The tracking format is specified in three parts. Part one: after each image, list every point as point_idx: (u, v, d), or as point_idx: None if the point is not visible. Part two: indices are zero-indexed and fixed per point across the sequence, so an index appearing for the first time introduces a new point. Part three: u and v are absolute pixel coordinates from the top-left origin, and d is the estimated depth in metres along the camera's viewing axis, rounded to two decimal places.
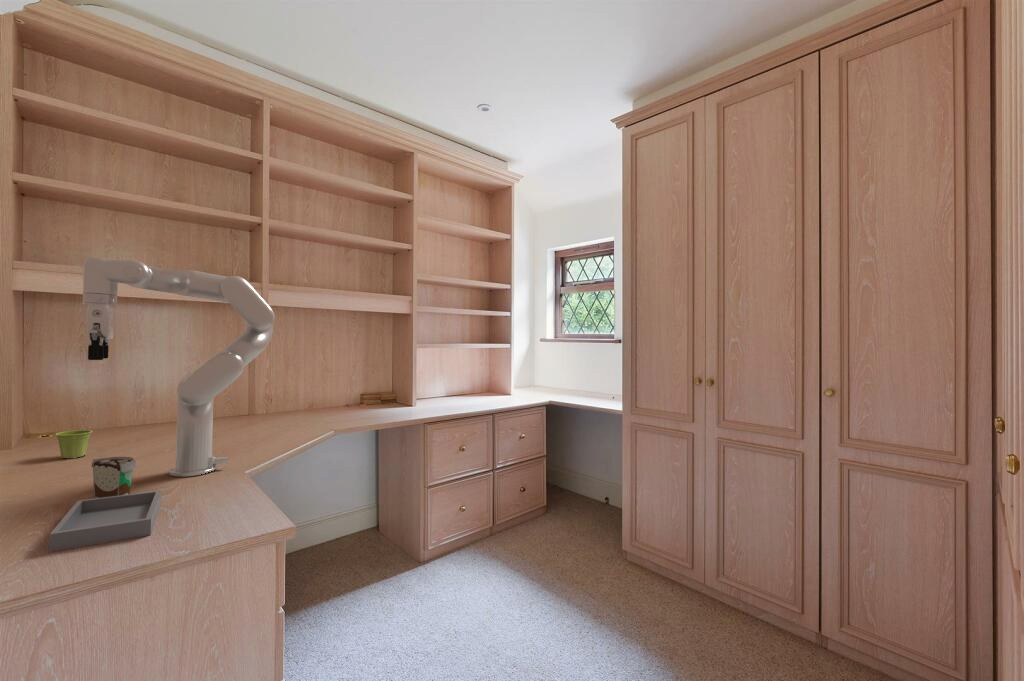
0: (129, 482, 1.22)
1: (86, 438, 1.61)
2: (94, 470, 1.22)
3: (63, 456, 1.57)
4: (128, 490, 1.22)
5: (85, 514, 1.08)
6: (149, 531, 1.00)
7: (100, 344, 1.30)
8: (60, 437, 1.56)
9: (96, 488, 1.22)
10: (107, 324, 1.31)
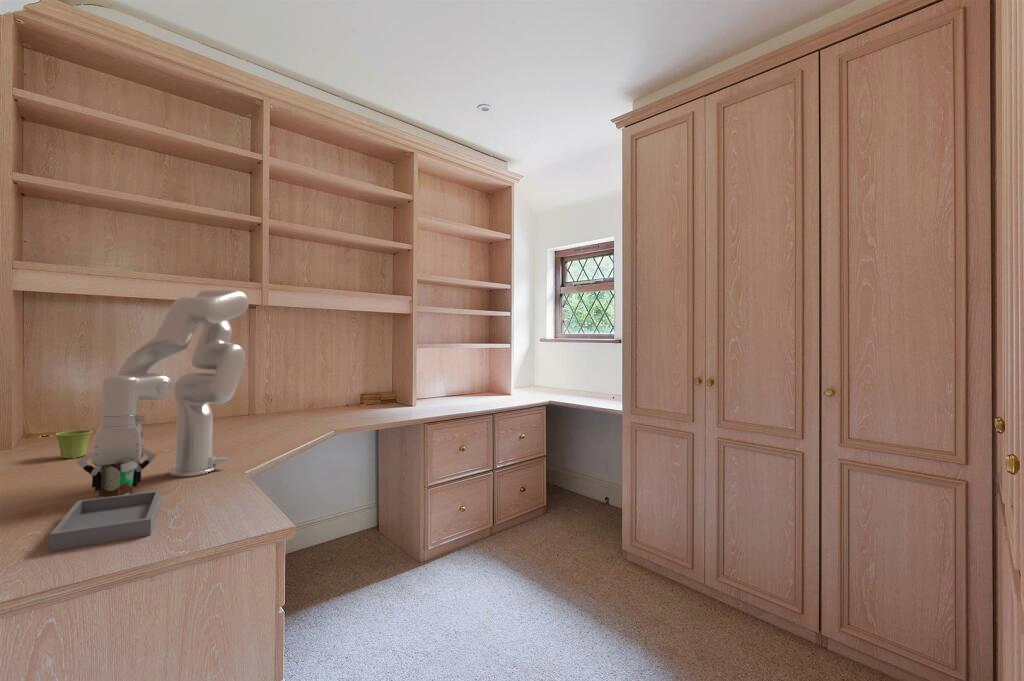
0: (130, 482, 1.22)
1: (86, 438, 1.61)
2: None
3: (63, 456, 1.57)
4: (129, 490, 1.22)
5: (85, 514, 1.08)
6: (149, 531, 1.00)
7: None
8: (60, 437, 1.56)
9: None
10: None
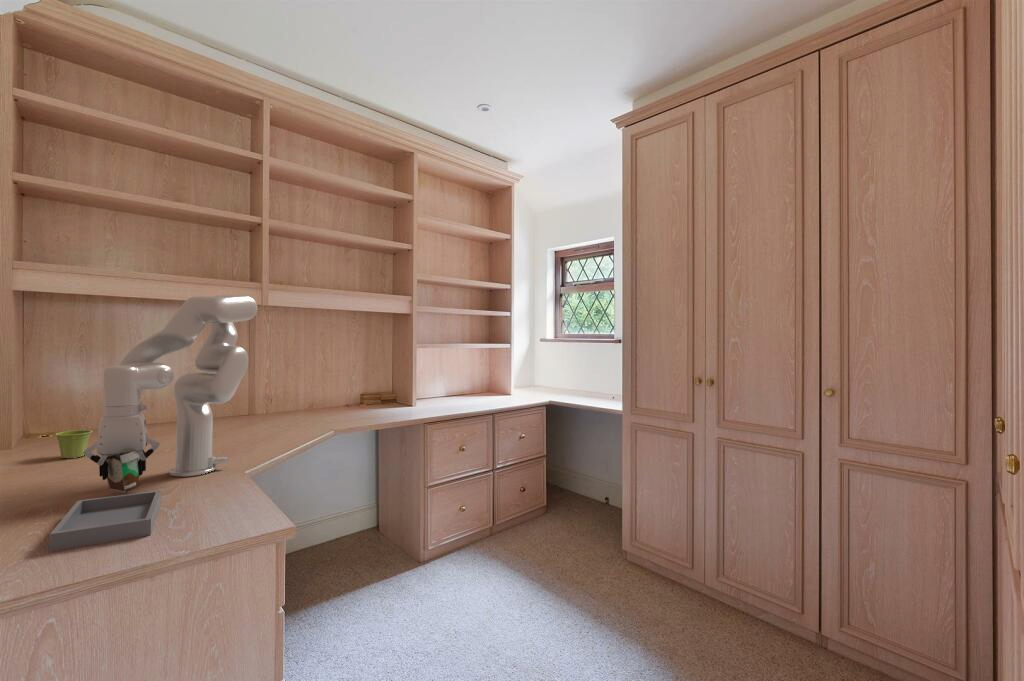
0: (135, 472, 1.23)
1: (86, 438, 1.61)
2: None
3: (63, 456, 1.57)
4: (136, 479, 1.24)
5: (85, 514, 1.08)
6: (149, 531, 1.00)
7: None
8: (60, 437, 1.56)
9: (109, 480, 1.25)
10: None
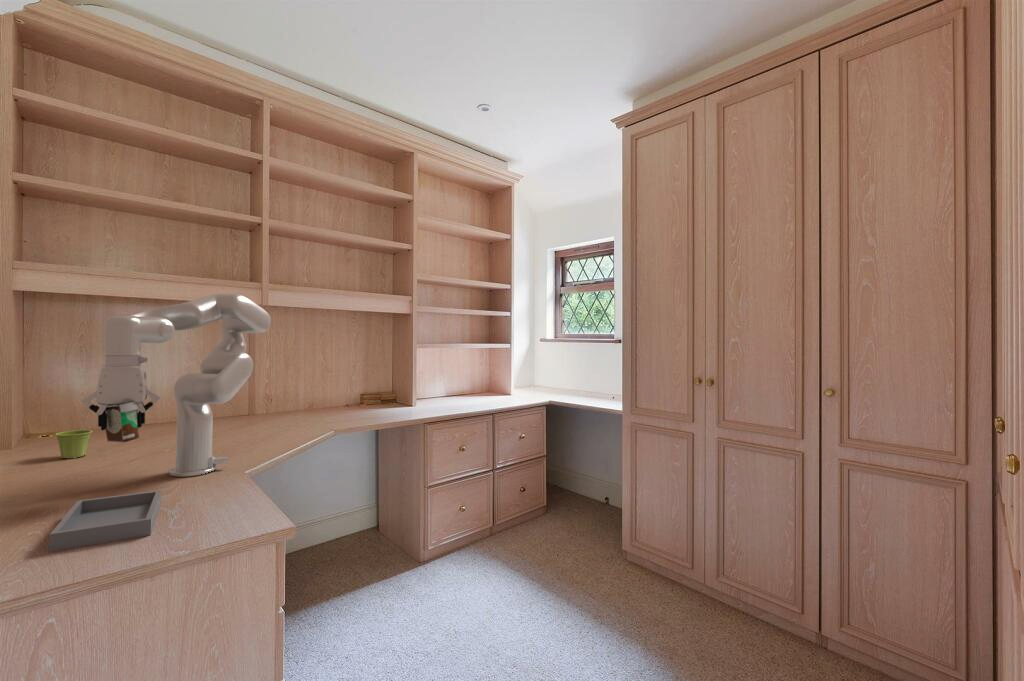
0: (134, 423, 1.23)
1: (86, 438, 1.61)
2: None
3: (63, 456, 1.57)
4: (134, 431, 1.23)
5: (85, 514, 1.08)
6: (149, 531, 1.00)
7: None
8: (60, 437, 1.56)
9: (107, 432, 1.24)
10: None
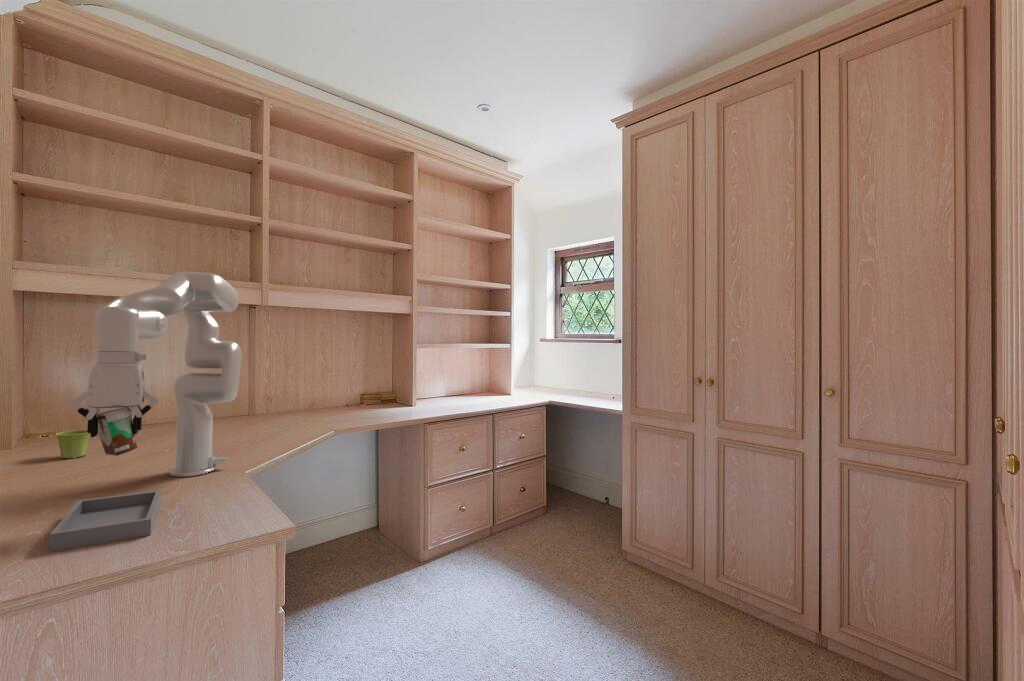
0: (126, 433, 1.07)
1: (86, 438, 1.61)
2: None
3: (63, 456, 1.57)
4: (128, 441, 1.07)
5: (85, 514, 1.08)
6: (149, 531, 1.00)
7: None
8: (60, 437, 1.56)
9: (103, 444, 1.09)
10: None
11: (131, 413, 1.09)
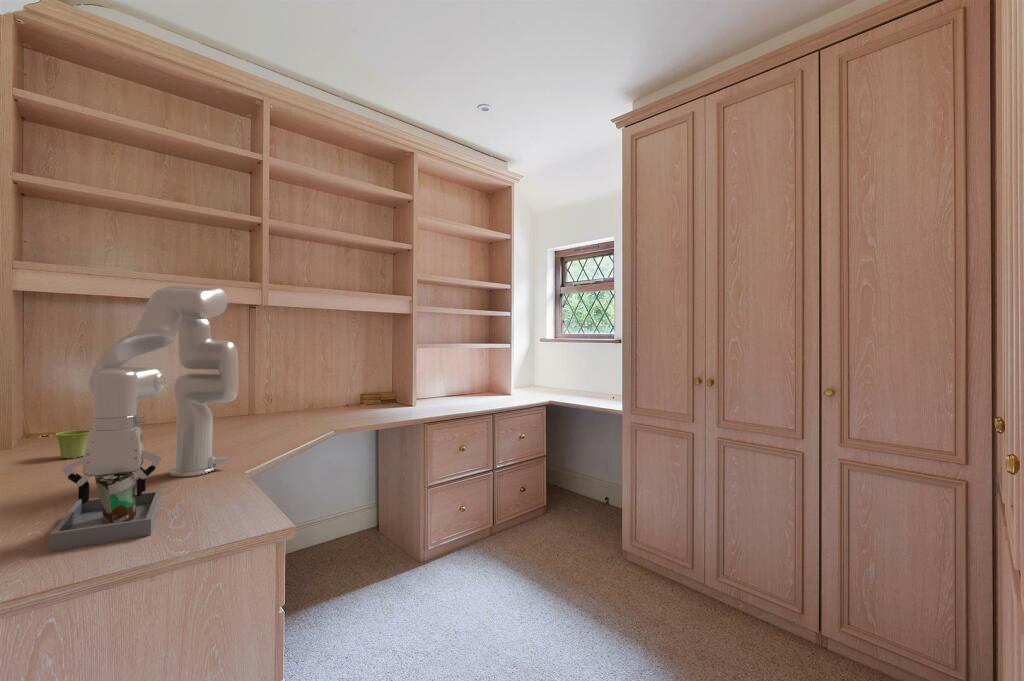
0: (127, 503, 1.04)
1: (86, 438, 1.61)
2: (98, 487, 1.07)
3: (63, 456, 1.57)
4: (128, 511, 1.04)
5: (85, 514, 1.08)
6: (149, 531, 1.00)
7: None
8: (60, 437, 1.56)
9: (102, 507, 1.07)
10: None
11: (134, 481, 1.06)
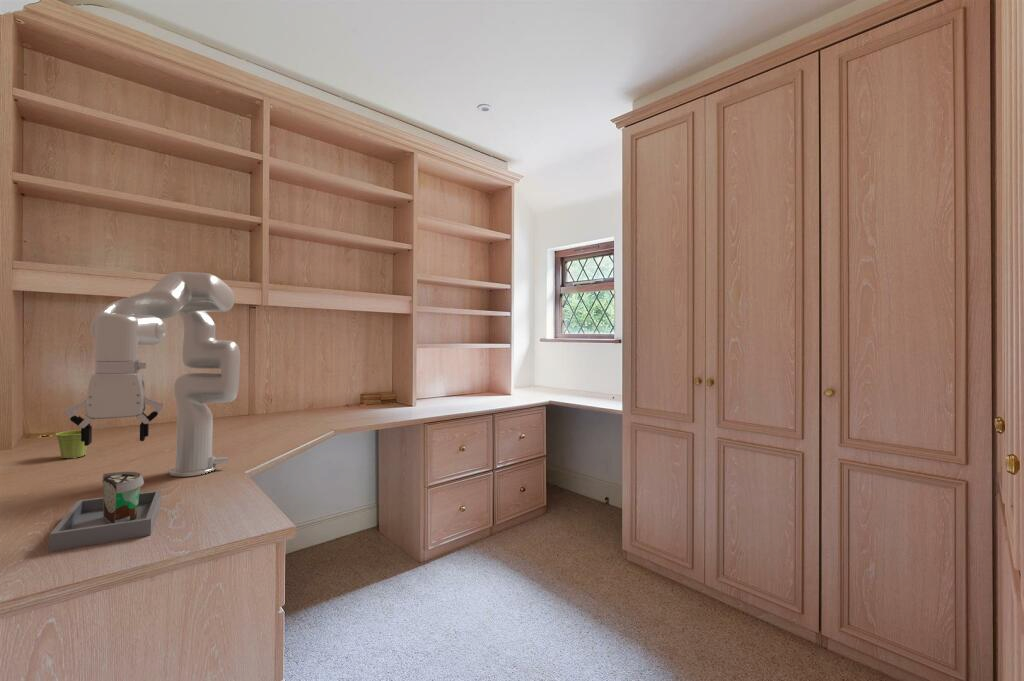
0: (131, 504, 1.05)
1: None
2: (104, 486, 1.08)
3: (63, 456, 1.57)
4: (130, 513, 1.05)
5: (85, 514, 1.08)
6: (149, 531, 1.00)
7: None
8: (60, 437, 1.56)
9: (104, 507, 1.07)
10: None
11: (141, 483, 1.07)
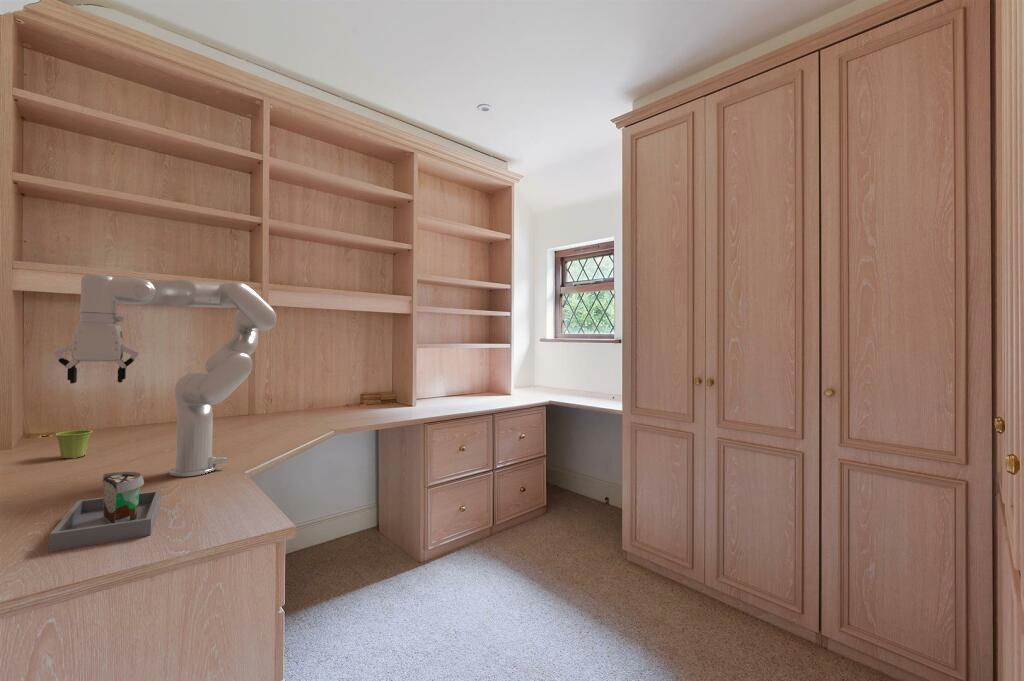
0: (131, 504, 1.05)
1: (86, 438, 1.61)
2: (104, 486, 1.08)
3: (63, 456, 1.57)
4: (130, 513, 1.05)
5: (85, 514, 1.08)
6: (149, 531, 1.00)
7: None
8: (60, 437, 1.56)
9: (104, 507, 1.07)
10: None
11: (141, 483, 1.07)
